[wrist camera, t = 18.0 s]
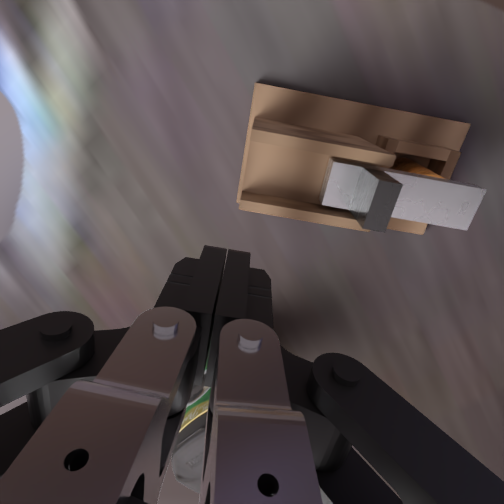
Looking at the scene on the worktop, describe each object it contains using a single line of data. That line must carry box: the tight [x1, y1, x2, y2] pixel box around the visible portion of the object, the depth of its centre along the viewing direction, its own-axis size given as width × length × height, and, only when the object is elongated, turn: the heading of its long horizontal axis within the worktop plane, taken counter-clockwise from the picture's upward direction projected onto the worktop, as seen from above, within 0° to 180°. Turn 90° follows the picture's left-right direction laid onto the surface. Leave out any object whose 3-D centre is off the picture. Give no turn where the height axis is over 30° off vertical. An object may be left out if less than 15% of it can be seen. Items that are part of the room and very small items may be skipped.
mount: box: [236, 83, 471, 235], centre depth 31 cm, size 22×12×12 cm, turn 80°
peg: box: [390, 158, 445, 179], centre depth 32 cm, size 4×4×8 cm
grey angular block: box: [319, 158, 486, 233], centre depth 25 cm, size 12×3×6 cm, turn 80°
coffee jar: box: [172, 342, 211, 494], centre depth 38 cm, size 10×8×19 cm
